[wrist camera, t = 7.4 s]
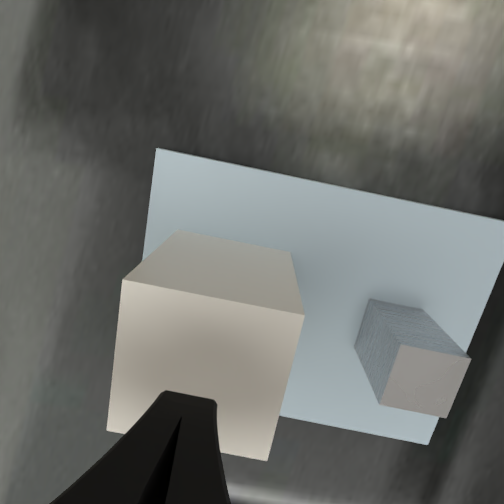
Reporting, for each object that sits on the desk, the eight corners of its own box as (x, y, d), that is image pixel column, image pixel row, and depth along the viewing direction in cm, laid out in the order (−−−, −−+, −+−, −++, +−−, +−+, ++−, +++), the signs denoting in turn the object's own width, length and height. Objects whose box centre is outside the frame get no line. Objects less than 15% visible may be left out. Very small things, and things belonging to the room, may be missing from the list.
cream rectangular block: (290, 252, 17) (305, 315, 10) (267, 351, 18) (267, 460, 12) (177, 229, 17) (122, 279, 10) (163, 331, 18) (106, 430, 12)
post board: (507, 221, 17) (518, 224, 16) (421, 433, 20) (427, 444, 19) (161, 148, 16) (156, 148, 16) (131, 375, 20) (126, 385, 19)
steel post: (416, 302, 18) (471, 358, 13) (399, 348, 19) (446, 418, 14) (364, 292, 18) (400, 344, 13) (350, 338, 19) (379, 405, 14)
